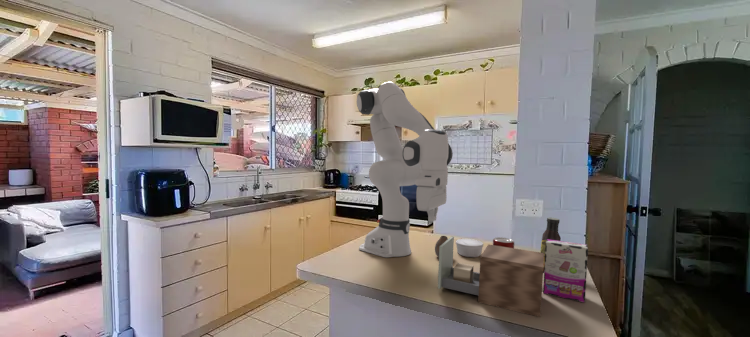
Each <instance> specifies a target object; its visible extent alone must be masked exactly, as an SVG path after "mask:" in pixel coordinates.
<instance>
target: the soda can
mask: <svg viewBox="0 0 750 337" xmlns="http://www.w3.org/2000/svg"><path fill="white" fill-rule="evenodd" d="M492 245H495V246H502V247H508V248H515V241H514V240H513V239H512V238H507V237H503V236H502V237H498V236H497V237H495V238H493V239H492Z"/></svg>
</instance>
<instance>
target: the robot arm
mask: <svg viewBox="0 0 750 337" xmlns="http://www.w3.org/2000/svg"><path fill="white" fill-rule="evenodd" d="M408 99H409V98H407V96H406V93H405V91H404V89H403V88H401V87H400V86H399V85H397V83H395V82H393V81H386V82H384V83H382V84H380V85H379V86H378V88H371V89H364V90H361V91H359V93H358V94H357V95H356V107H357V110H358V112H359V113H361V114H362V115H365V116H366V115H367V116H368V115H371V116H370V119H369V124H370V133H371V137H372V139H373V140H372V141H373V143H374V146H375V150H376V153H377V154H378V156H380V157H381V158H383V159H384V160H379V161H375V162H373V163H372V164H371V165H370V167H369V170H368V177H369V180H370V182H371V184H373V185H374V186H375V187H376V188H377V189H378V191H379V193H380V196H381V199H382V217H381V218H379V219H377V220H376V221H377V222H376V223H377V224H378V226H376V227H375V228H374V229H372V230H371V231H369V232H368V233H367V234H366V236H365V239H364V243H362V244H360V245H359V246H358V247H359V248H358V250H359V251H362V252H364V253H369V254H372V255H375V256H378V257H382V258H392V257H395V258H396V257H398V258H399V257H405V256H409V255H411V253H412V249H411V244H410V237H409V236H410V235H409V234H410V228H411V226H410V225H411V224H410V218H409V217H410V216H409V215H410V202H409V201H410V200H409V199H408V198H407V197H406V196H404V195H403V194H402V192H401V190H400V189H401V188H400V187H409V186H410V187H411V186H414V185H415V186H417V187H416V193H415V194H416V198H415V199H416V208H417V210H418V211H421V212H426V213H427V216H428V217H427V219H428V222H432V223H433V222H435V221H437V215H438V211H439V207H440V206H442V205H445V204H446V202H447V185H448V177H449V174H448V173H449V168H448V166H449V165H450V163H451V162H452V160H453V153H454V152H453V150H452V147H451V145H450V144H449V143H450V142H449V140H448V139H449V138H448V137H449V136H448V134H447V132H445V131H444V130H440V129H435V128H434V126H433V125H432V124H431V123H430V122H429V120H428V119H427V118H426V117H425V115H423V114H422V113H421V112H419V110H418V109H416V108H415V107H414V106H413V104H411V101H410V100H408ZM396 127H397V128H398V127H399V128H403V129H406V130H409V131H412V132H414V133H416V134H417V135H418V137H416V138H414V139H412V140H409V141H407V142H406V143H405V144H404V146H403V145H402V142H401V140H400V136H399V134H398V131H397V129H396Z"/></svg>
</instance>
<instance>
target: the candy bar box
mask: <svg viewBox="0 0 750 337" xmlns="http://www.w3.org/2000/svg"><path fill="white" fill-rule="evenodd" d="M588 252H589V248H588V244H584V243H577V242H571V241H562V240H561V241H557V240H550V239H547V241H546V245H545V266H544V271H543V284H542V294H544V295H549V296H553V297H558V298H562V299H563V298H564V299H567V300H572V301H576V302H581V303H585V302H586V295H587V294H586V291H587V290H586V288H587V273H588V271H587V270H588V254H589V253H588Z"/></svg>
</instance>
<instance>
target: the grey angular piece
mask: <svg viewBox="0 0 750 337" xmlns="http://www.w3.org/2000/svg"><path fill="white" fill-rule="evenodd" d="M454 238H455V237H454V236H450V237H449V238H448V240H447V241H445V242H444V243H443V244H442V245H441V246H439V258H438V270H437V271H438V273H437V289H439V290H440V289H441V288H445V289H449V290H452V291H458V292H461V293H465V294H469V295H470V294H471V295H475V296H477V297H479V276H480V272H477V271H473V282H472V283H467V282H462V281H457V280H453V276H454V267H453V265H454V263H453V262H454V246H455V245H454V241H455V239H454Z"/></svg>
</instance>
